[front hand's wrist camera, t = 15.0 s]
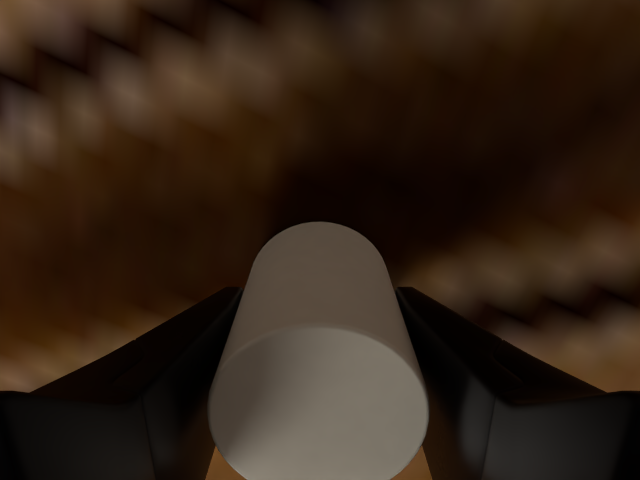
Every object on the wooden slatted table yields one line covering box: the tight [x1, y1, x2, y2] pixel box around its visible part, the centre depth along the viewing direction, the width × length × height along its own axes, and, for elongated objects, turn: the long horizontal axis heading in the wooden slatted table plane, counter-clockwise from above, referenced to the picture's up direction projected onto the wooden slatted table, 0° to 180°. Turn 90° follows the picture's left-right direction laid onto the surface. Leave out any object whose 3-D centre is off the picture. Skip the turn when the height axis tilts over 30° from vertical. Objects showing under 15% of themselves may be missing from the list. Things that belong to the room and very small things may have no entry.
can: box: [207, 222, 430, 480], centre depth 10 cm, size 4×4×5 cm
